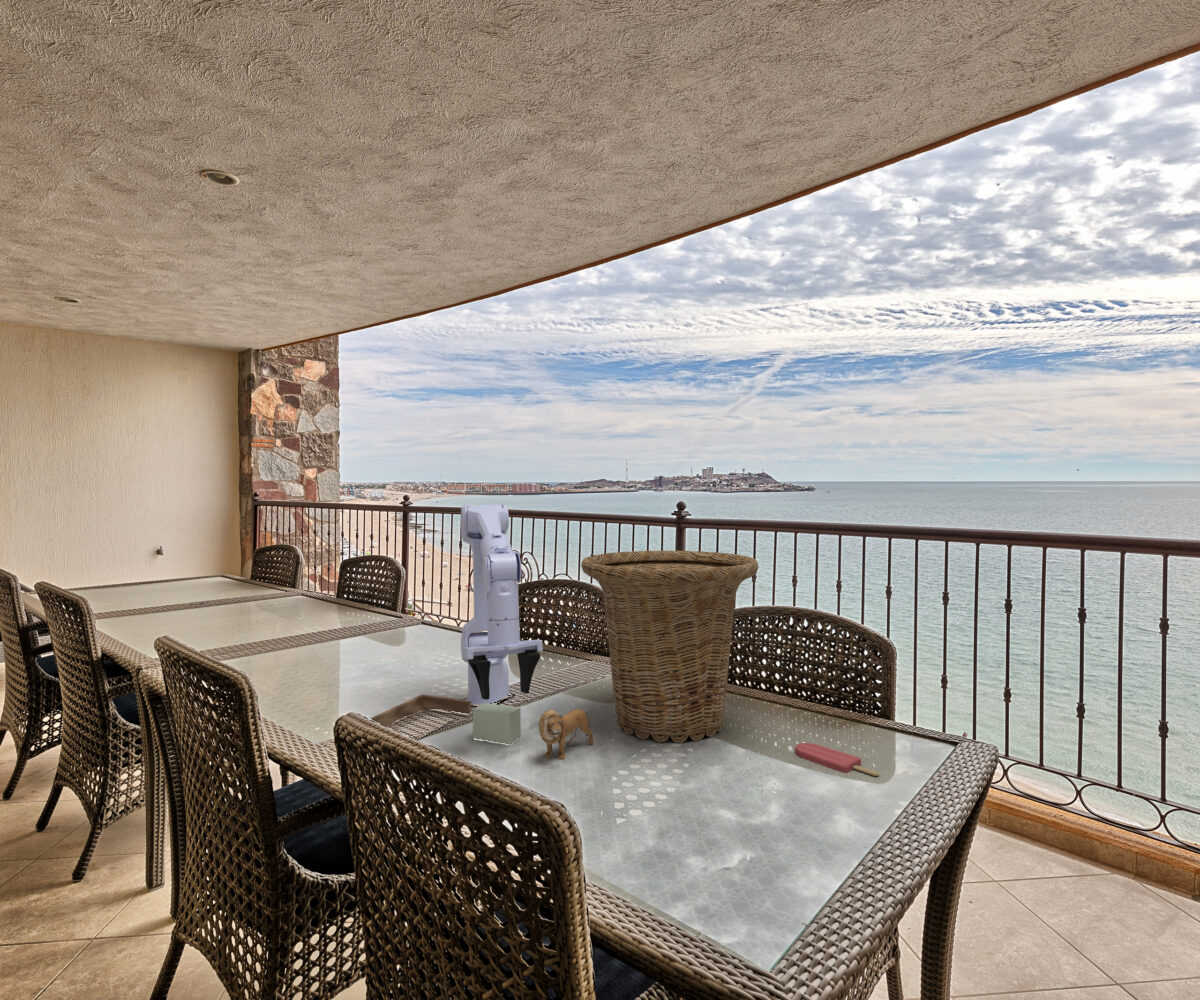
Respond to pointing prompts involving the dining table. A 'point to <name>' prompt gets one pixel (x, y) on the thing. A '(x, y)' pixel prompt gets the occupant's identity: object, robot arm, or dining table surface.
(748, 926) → the dining table surface
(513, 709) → the sage block
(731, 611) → the wicker basket
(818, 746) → the popsicle
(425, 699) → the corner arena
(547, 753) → the lion figurine
